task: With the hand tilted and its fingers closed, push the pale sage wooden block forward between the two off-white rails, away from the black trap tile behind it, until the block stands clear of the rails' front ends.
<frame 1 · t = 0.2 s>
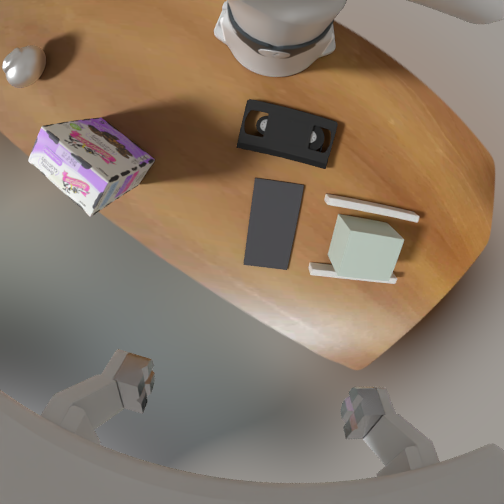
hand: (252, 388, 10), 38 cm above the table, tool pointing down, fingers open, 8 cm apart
sage block: (357, 238, 49), on the table
vhs tape: (286, 132, 42), on the table
channel: (362, 239, 49), on the table
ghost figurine: (39, 66, 33), on the table
candy box: (119, 150, 42), on the table
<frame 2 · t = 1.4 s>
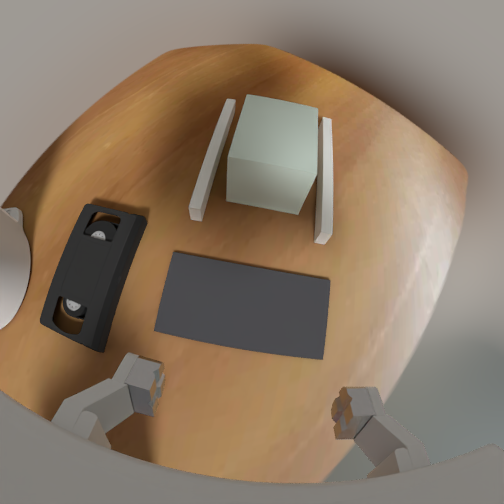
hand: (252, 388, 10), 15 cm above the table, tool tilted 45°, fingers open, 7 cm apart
sage block: (267, 173, 33), on the table
vhs tape: (95, 276, 26), on the table
channel: (269, 166, 33), on the table
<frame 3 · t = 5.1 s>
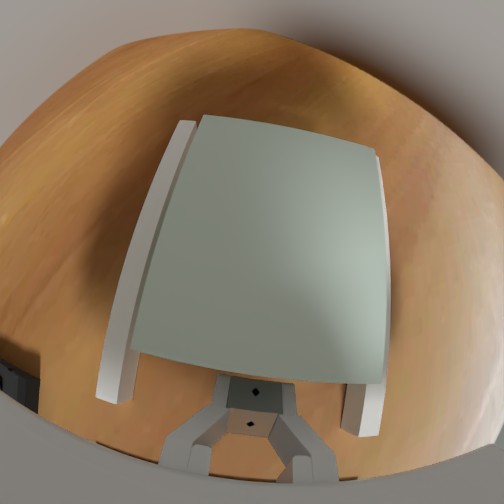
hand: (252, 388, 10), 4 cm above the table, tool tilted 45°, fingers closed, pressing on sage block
sage block: (258, 284, 16), on the table, touching gripper
vhs tape: (7, 442, 10), on the table
channel: (260, 269, 17), on the table
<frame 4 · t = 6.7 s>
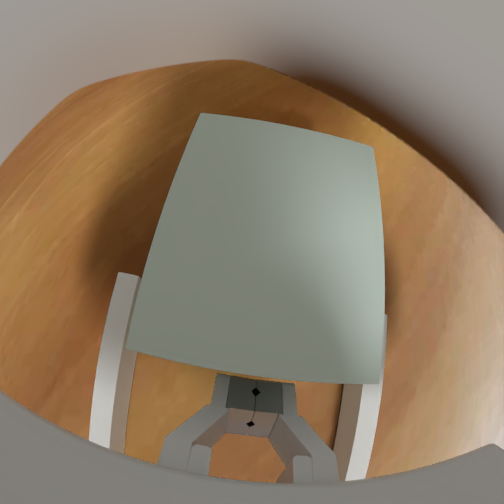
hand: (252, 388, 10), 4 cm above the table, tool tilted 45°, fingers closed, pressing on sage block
sage block: (256, 283, 16), on the table, touching gripper
channel: (228, 457, 12), on the table
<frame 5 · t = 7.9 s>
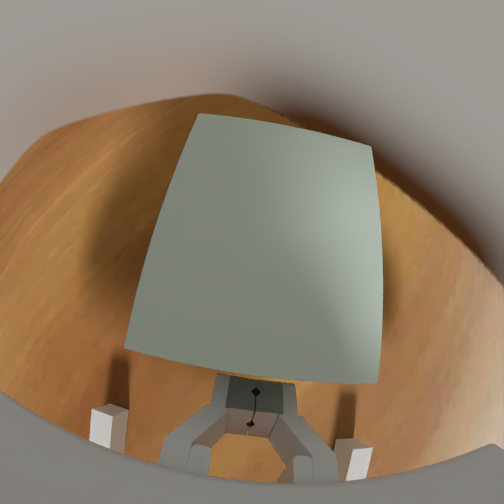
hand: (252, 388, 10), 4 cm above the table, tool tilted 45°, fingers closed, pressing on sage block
sage block: (255, 283, 16), on the table, touching gripper
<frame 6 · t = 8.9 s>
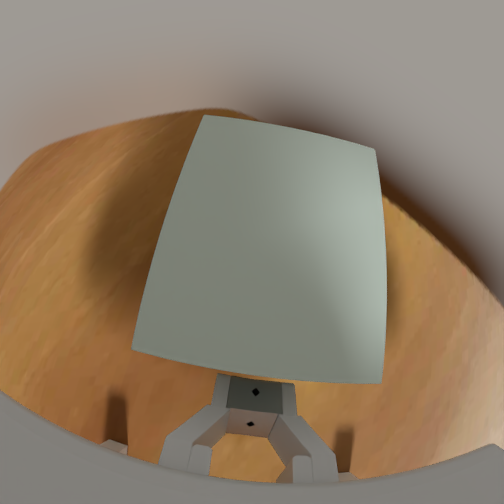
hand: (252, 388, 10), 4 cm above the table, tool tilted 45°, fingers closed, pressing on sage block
sage block: (259, 284, 16), on the table, touching gripper
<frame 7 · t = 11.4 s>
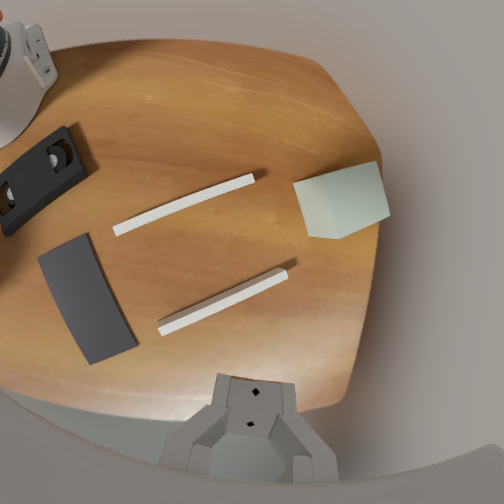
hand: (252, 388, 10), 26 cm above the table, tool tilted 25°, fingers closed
sage block: (327, 200, 41), on the table
vhs tape: (37, 182, 28), on the table
channel: (201, 252, 36), on the table
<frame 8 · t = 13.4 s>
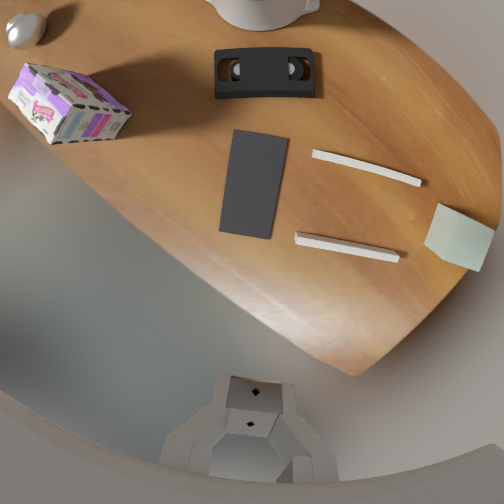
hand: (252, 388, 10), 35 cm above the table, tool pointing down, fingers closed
sage block: (449, 230, 43), on the table
vhs tape: (264, 74, 36), on the table
channel: (357, 206, 42), on the table
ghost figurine: (40, 33, 30), on the table
candy box: (99, 105, 37), on the table
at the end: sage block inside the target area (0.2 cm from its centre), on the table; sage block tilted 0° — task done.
